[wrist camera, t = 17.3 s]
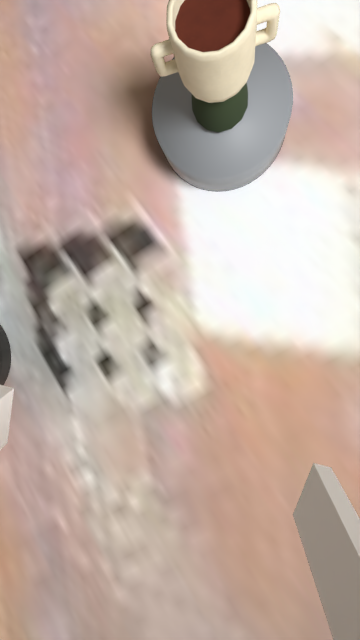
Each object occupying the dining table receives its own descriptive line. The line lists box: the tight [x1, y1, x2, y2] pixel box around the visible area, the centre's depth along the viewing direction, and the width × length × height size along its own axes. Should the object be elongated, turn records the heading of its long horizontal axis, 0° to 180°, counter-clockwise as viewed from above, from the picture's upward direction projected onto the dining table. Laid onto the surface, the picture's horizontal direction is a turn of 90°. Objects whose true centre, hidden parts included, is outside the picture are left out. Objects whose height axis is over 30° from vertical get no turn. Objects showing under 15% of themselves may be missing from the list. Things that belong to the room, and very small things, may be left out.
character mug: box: [151, 0, 280, 132], centre depth 32 cm, size 11×7×13 cm, turn 101°
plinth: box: [152, 43, 293, 192], centre depth 41 cm, size 16×16×5 cm
